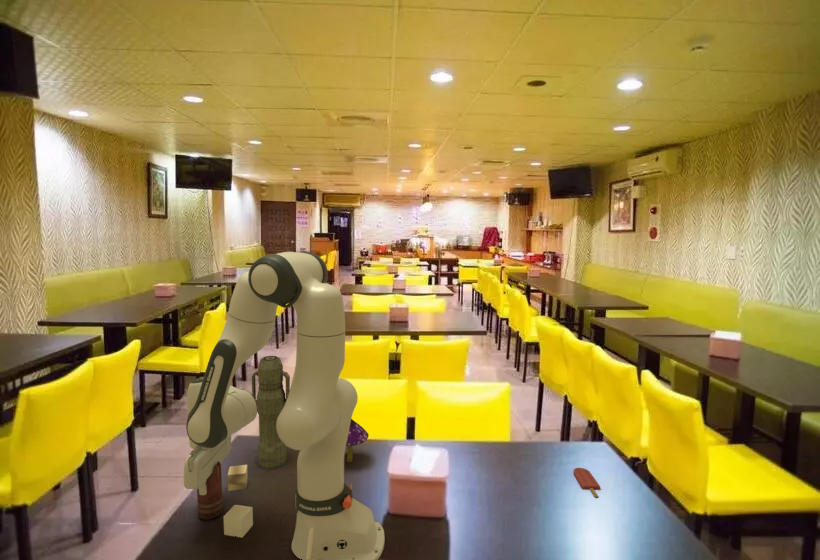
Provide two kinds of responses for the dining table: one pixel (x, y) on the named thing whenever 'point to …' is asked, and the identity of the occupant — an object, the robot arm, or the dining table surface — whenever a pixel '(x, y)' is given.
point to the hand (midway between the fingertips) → (210, 485)
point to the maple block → (237, 477)
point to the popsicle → (586, 480)
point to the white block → (238, 520)
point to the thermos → (270, 410)
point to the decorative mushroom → (355, 437)
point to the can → (211, 496)
